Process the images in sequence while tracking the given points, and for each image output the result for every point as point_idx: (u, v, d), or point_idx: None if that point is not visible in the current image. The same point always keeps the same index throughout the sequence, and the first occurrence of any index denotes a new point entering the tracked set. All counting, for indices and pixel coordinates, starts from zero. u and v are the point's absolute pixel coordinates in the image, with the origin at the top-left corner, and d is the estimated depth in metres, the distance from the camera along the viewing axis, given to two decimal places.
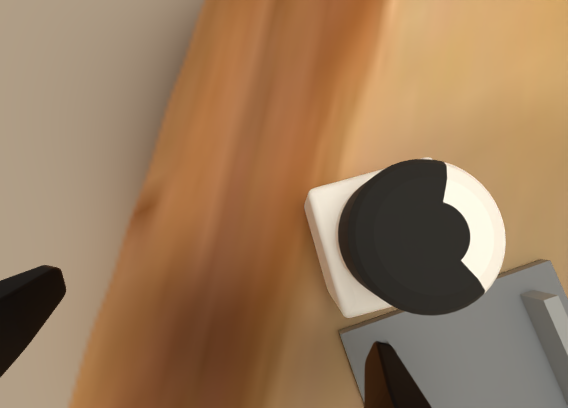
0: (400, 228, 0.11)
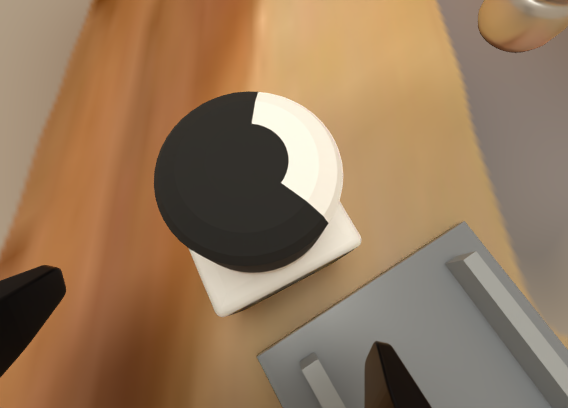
0: (204, 160, 0.09)
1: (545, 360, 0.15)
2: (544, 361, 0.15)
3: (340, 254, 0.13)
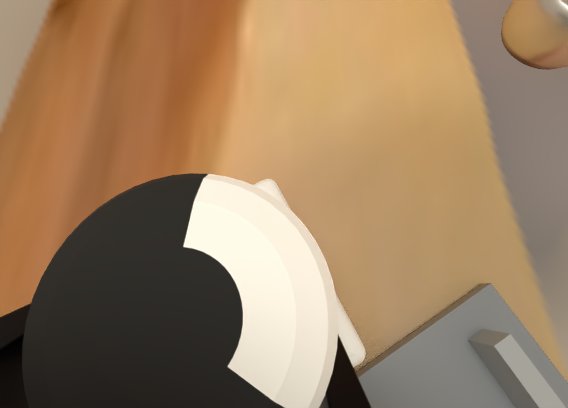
0: (96, 319, 0.05)
1: None
2: None
3: None
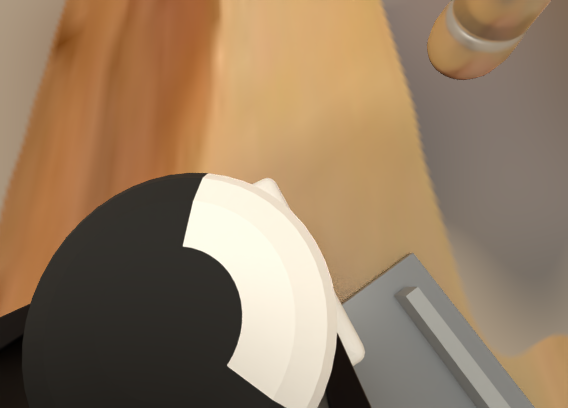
0: (95, 319, 0.05)
1: (479, 387, 0.17)
2: (478, 389, 0.17)
3: None
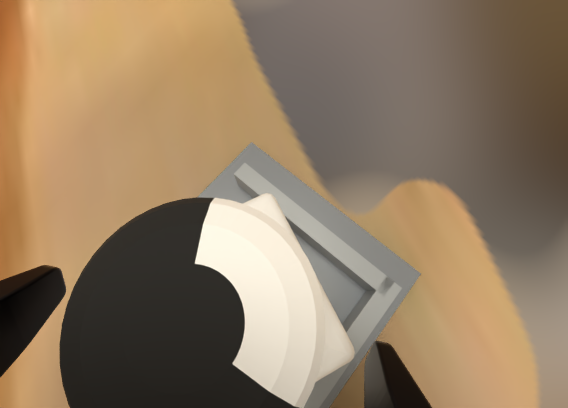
0: (122, 325, 0.06)
1: (316, 236, 0.17)
2: (316, 237, 0.17)
3: None
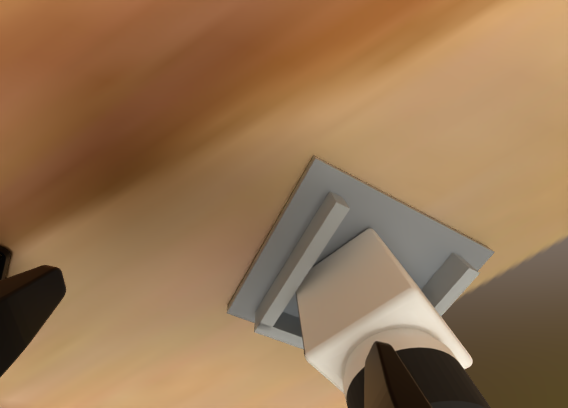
0: None
1: None
2: None
3: None
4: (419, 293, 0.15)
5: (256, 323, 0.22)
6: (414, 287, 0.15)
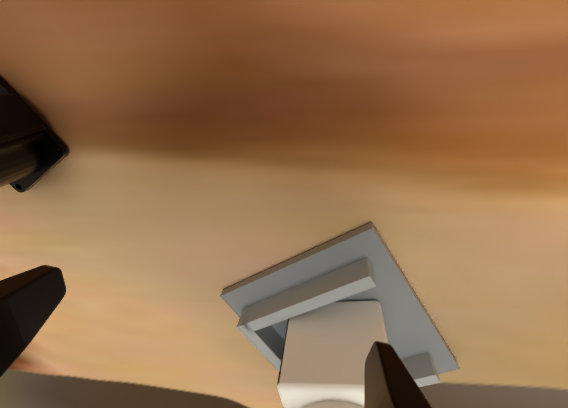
0: None
1: None
2: None
3: None
4: None
5: (241, 319, 0.24)
6: None
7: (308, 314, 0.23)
